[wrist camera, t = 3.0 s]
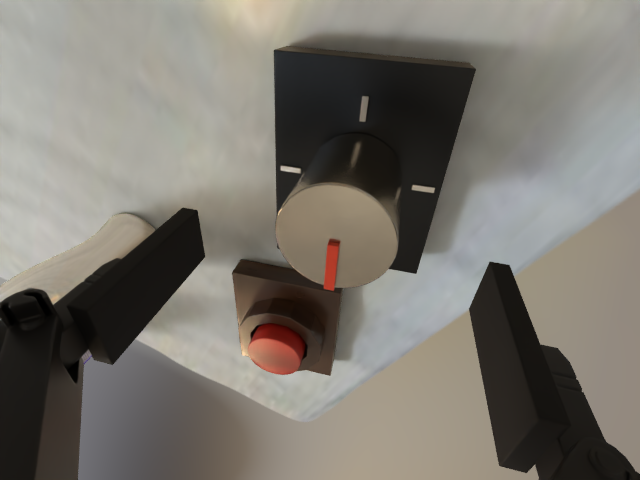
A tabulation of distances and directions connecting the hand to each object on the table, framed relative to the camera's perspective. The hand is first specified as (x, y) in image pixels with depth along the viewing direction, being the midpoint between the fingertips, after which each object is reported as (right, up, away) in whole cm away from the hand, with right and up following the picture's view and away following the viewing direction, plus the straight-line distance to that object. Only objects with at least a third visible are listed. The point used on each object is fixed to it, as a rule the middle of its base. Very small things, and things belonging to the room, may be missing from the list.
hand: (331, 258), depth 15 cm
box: (-4, -7, +19) cm, 21 cm away
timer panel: (+2, +6, +9) cm, 11 cm away
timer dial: (+2, +5, +7) cm, 9 cm away
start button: (-4, -9, +17) cm, 19 cm away
